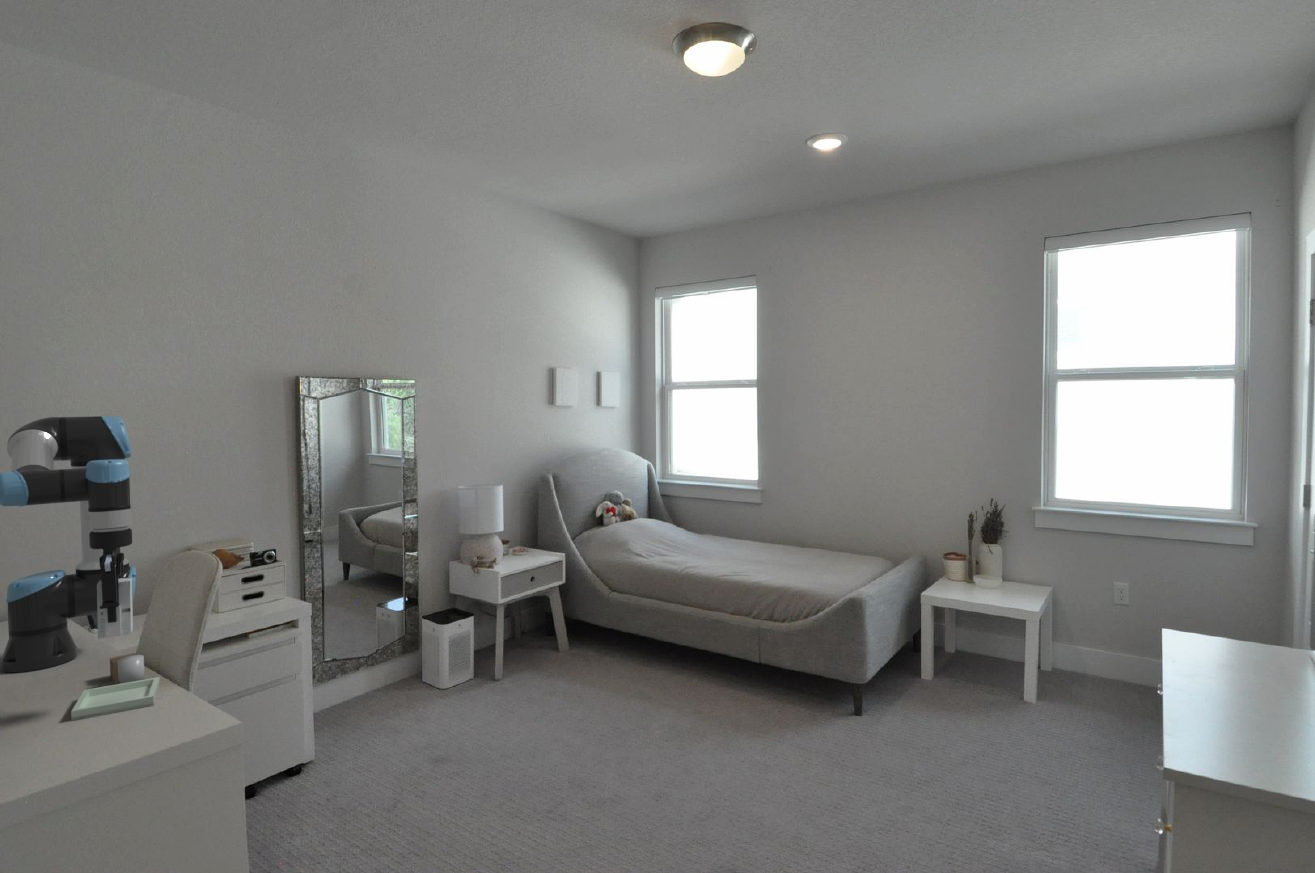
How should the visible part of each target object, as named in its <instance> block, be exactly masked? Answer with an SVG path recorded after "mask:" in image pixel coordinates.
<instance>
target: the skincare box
mask: <svg viewBox="0 0 1315 873" xmlns="http://www.w3.org/2000/svg"><path fill="white" fill-rule="evenodd" d="M102 603H103V601H102V581H99V582H98V584H97V614H96V615H97V638H98V639H104V638H106V635H105V613H104V609H100V606H102ZM119 606H120V611H121V633H122V635H121V636H126V635H130V634H132V632H133V630H134V619H133V618H134V617H133V616H134V614H133V612H134V611H133V610H134V609H133V608H134V606H133V602H132V578H121V579H119Z"/></svg>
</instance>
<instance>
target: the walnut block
mask: <svg viewBox="0 0 1315 873" xmlns="http://www.w3.org/2000/svg"><path fill="white" fill-rule="evenodd" d="M132 655H137V654H136V652H130V653H126V654H121V655H117V656H113V657H109V672H110V673H109V674H110V679H111V681H112V682H113V683H114V684H115V683H119V682H118V681H119V680H118V660H119V659H121V658H123V657H127V656H132Z"/></svg>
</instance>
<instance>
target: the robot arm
mask: <svg viewBox="0 0 1315 873" xmlns="http://www.w3.org/2000/svg"><path fill="white" fill-rule="evenodd" d="M6 445H7V446H6V451H7V454H8V456H9V458H11V465H10V466H11V467H10V471H6V472H1V473H0V505H1V506H3V507H26V506H37V505H48V504H60V503H62V504H63V503H75V502H77V503H78V502H79V510H80V512H79V513H80V532H81V535H80V536H81V553H82V554H81V558H82V559H81V561H80V562H79V563H78V564H77V565H76V566H75V573H73V574H67V572H65V570H63V569H56V570H48V571H42V572H37V573H34V574H30V575H27V576H23V577H20V578H17V579H14V580H13V581H11V582H10V583H9V584H8V585H7V588H6V599H5V603H7V625H8V640H7V643H6V646H5V648H4V651H3V653H2V656H1V659H0V670H1V672H3V673H25V672H31V671H39V670H43V669H47V668H51V667H55V666H59V665H62V664H65V663H68V662H70V661H72V660H74V659H75V658H77V657H78V646H77V645H76V642H75V641H74V639H73V637H72V635H71V633H70V631H69V629H68V619H72V618H73V619H75V618H79V617H86V616H92V615H98V614H97V584H98V582H99V581H102V601H103V603H102V606H100V609H104V613H105V635H106V637H105V638H107V639H108V638H113V637H121V636H123V635H122V633H121V611H120V606H119V579H121V578H132V603H133V602H134V596H135V594H136V593H135V591H136V582H137V569H136V567H135V566H132V565H130V560H129V559H127V558H126V557H125V553H124V552H123V551H122V550H123V548H124V547H128V546H131V545H132V544H133V529H132V528H130V527H132V525H133V521H132V520H133V517H132V516H133V515H132V513H133V512H132V508H131V480H130V477H131V472H130V466H129V461H128V460H126V459H130V458H131V457H132V450H131V442H130V438H129V433H128V430H127V427H126V423H125V421H124V420H123V419H122V418H121V417H119V416H107V415H105V416H104V415H99V416H96V415H95V416H64V417H63V416H62V417H61V416H50V417H43V418H39V419H37V420H33V421H31V422H28V423H27V424H24V425H23V426H21V427H19V428H18V429H16V430H15V431H14V432H13V433H12V434H11V435H10V437H9V438H8V440H7V444H6ZM54 461H55V462H58V461H70V468H64V469H55V465H54Z"/></svg>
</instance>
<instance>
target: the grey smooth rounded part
mask: <svg viewBox="0 0 1315 873" xmlns="http://www.w3.org/2000/svg"><path fill="white" fill-rule="evenodd" d="M144 658H145V656H144V655H143V654H136V655H132V656H127V657H123V658H121V659H119V660H118V680H119V682H118V684H122V683H128V682H134V681H139V680H145V679H146V678H145V659H144Z"/></svg>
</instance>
